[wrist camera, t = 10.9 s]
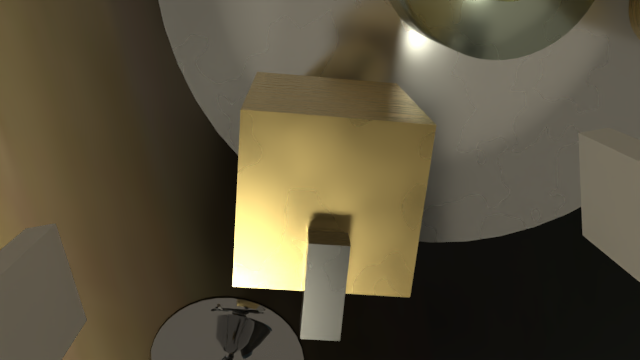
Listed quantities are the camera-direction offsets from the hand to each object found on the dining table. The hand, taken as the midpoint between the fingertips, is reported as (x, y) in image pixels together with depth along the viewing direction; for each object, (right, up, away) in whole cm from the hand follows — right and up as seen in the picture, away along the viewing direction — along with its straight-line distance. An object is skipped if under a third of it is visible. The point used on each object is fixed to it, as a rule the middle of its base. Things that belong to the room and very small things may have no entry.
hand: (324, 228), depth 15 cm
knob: (0, +3, +8) cm, 8 cm away
